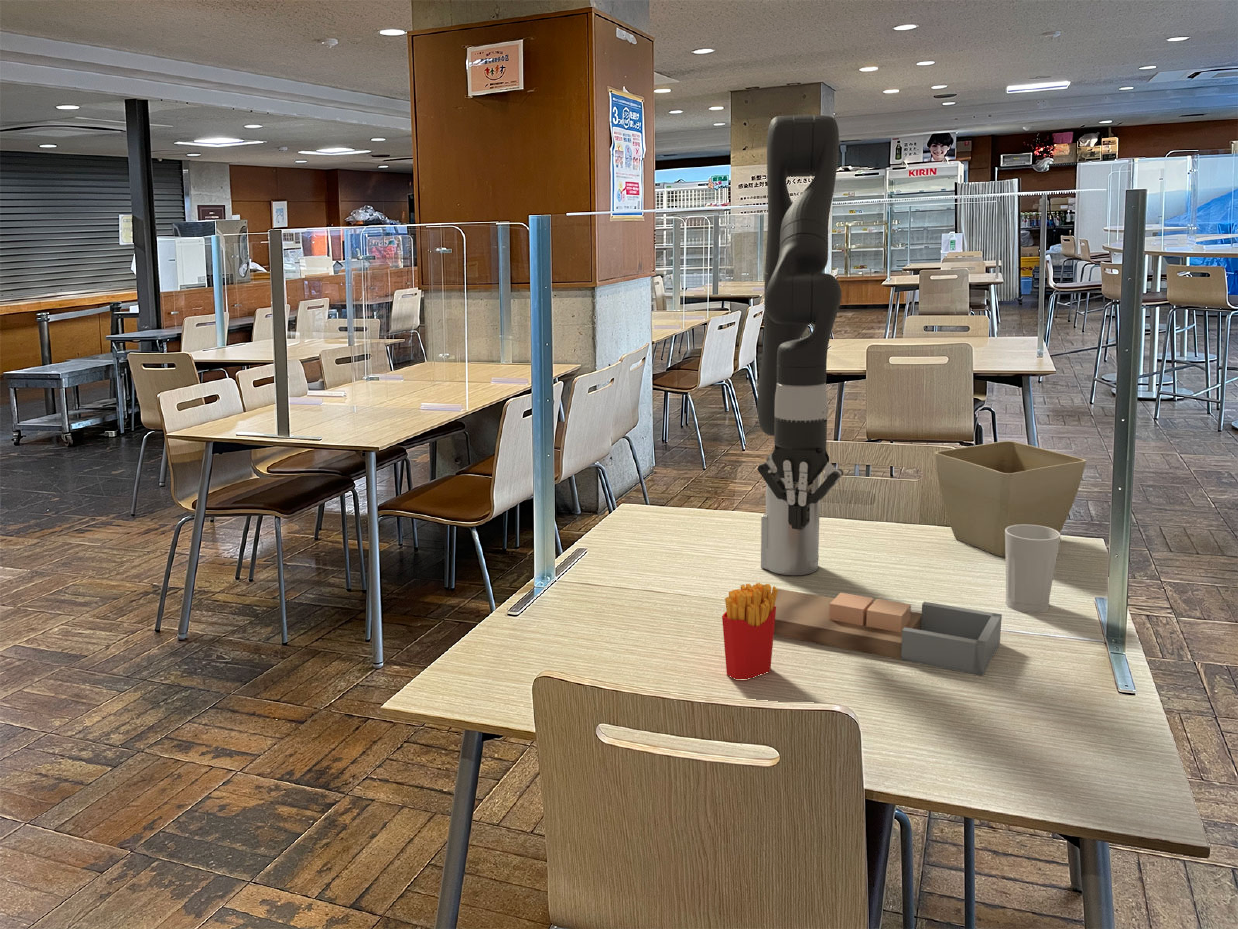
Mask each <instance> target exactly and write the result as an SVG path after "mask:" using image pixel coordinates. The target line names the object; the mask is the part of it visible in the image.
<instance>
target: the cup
mask: <svg viewBox="0 0 1238 929" xmlns="http://www.w3.org/2000/svg"><path fill="white" fill-rule="evenodd" d="M1060 541H1061V532H1060V533H1059V532H1058V531H1057V530H1054V529H1052V528H1048V527H1044V526H1038V525H1013V526H1009V527H1007V528H1006V529H1005V551H1006V556H1005V605H1006V607H1007V608H1010V609H1011V610H1015V611H1017V612H1021V613H1023V612H1024V613H1031V614H1035V613H1037V614H1038V613H1039V614H1040V613H1044V612H1046V611H1048V610H1049V606H1050V597H1051V592H1052V586H1053V580H1054V575H1055V569H1056V562H1057V557H1058V552H1059V546H1060Z"/></svg>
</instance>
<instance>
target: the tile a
mask: <svg viewBox="0 0 1238 929" xmlns="http://www.w3.org/2000/svg"><path fill="white" fill-rule="evenodd" d="M834 598H835V599H834V600H833V601H832V602H831V603H830V612H829V620H834V621H840V622H845V623H851V624H856V625H862V626H863V625H864V624H865V622H866V617H867V609H868V608H869V607H870V606H871V605H872V604H873V602H874V597H870V596H864V595H858V594H857V595H856V594H852V593H846V592H840V593H838V594H837V596H836V597H834Z"/></svg>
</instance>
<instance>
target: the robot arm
mask: <svg viewBox="0 0 1238 929" xmlns="http://www.w3.org/2000/svg"><path fill="white" fill-rule="evenodd" d="M838 126H839V125H838V123H837V120H836V119H835V118H834V117H833V116H830V115H823V114H822V115H821V114H820V115H818V114H817V115H816V114H815V115H813V114H812V115H811V114H807V115H804V114H803V115H801V114H800V115H798V114H797V115H779V116H775V117H773V118H772V119H771V121H770V123H769V126H768V129H767V136H766V176H767V179H766V180H767V182H766V183H767V185H766V186H767V231H766V232H767V233H766V234H767V235H766V248H765V249H766V252H765V264H764V265H765V267H764V286H763V287H764V294H763V295H764V298H763V299H764V303H763V304H764V305H763V306H764V314H763V315H764V318H763V342H762V354H761V360H760V361H761V362H760V363H761V364H760V368H759V370H760V372H759V378H758V388H757V398H756V399H757V400H756V403H757V404H756V412H757V419H758V424H759V427H760V430H762V432H763V433H764V434H765V435H768V436H772V437H773V436H774V440H773V442H774V447H773V448H774V449H773V451H772V452H771V453H769V455H768V456H767V458H766V461H765V462H762V463H761V464H760V465H758V466H757V471H758V473H759V474H760V475H761V477H762V478H763V480H764V481H765V513H764V514H762V515H761V519H760V520H761V522H760V524H761V525H760V528H761V529H760V530H761V531H760V540H761V541H760V568H761V569H766V570H767V571H769V572H772V573H774V574H779V575H785V576H803V575H809V574H813V573H814V572H817V570H818V568H819V560H820V558H819V549H820V548H819V546H820V511H821V510H820V509H821V500H822V499H823V498H825V496H826V495H827V494H828V493H829V492H830V490H831V489H832V488H833V487H834V486H835V485H836V484H837V482H838V481H840V479H841V478H842V477H843V475H844V471H843V470H842V468H836V467H835V466H834V465H833V464H832V463H831V462H830V455H829V454H828V451H827V442H828V440H827V438H828V413H829V406H828V394H827V393H828V391H827V383H826V382H827V361H828V359H827V358H828V350H829V342H830V339H831V334H832V331H833V326H834V324H835V321H836V318H837V315H838V312H839V309H840V305H841V301H842V288H841V284H840V283H839V281H838V279H837V278H836V277H835V276H834V275H832V274H830V273H827V272H826V273H823V271H824V270H825V269H826V268H827V266H828V261H829V225H830V224H829V223H830V215H831V214H830V213H831V206H832V203H833V202H832V201H833V197H834V191H835V184H836V178H837V169H838V161H839V152H840V150H839V149H840V130H839V127H838ZM789 177H790V178H791V177H792V178H794V177H795V178H797V177H799V178H802V177H806V178H807V177H813V179H812V180H811V182H810V183H809V184H808V186H807V187H806V188H805V189H804V190H803V191H802V192H801V194H800V195H799V196H797V198H796V199H795V200H794V201H793V200H792V199H791V196H790V193H789V192H790V191H789V189H788V184H787V178H789ZM792 201H793V202H792ZM811 324H812V325H814V327H813V330H812V332H811V333H809V335H807V336H804V337H802V336H803V335H804V333H805V331H806V330H807V328H808V327H809V325H811ZM823 471H824V473H823V476H822V477H823V479H824V481H823V482H822V483H821V473H822V472H823Z"/></svg>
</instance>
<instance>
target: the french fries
mask: <svg viewBox="0 0 1238 929" xmlns="http://www.w3.org/2000/svg"><path fill="white" fill-rule="evenodd" d="M778 589H779V588H777V586H771V584H770V583H765V584H762V583H761V582H757V583H755V584H753V585H751V584H750V583H745V584H740V588H738V589H732V590H731V591H728V596H727V597H725V598H724V600H725V601H724V602H725V610H726V611H725V612H724V613H723V615H722V616H721V620H722V631H723V633H722V634H723V645H724V646H723V647H724V654H725V671H726V676H727V675H729V676H731V677H732V678H731V677H730V678H731V679H733V678H735V679H748V678H753V677H755V676H758V675H760V674H764V673H766V672H769V673H770V671H771V666H772V657H773V646H774V636H775V635H774V626H775V615H776V606H774V605H775V601H776V597H777V593H778ZM764 675H765V674H764ZM729 676H728V677H729ZM753 679H754V678H753Z"/></svg>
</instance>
